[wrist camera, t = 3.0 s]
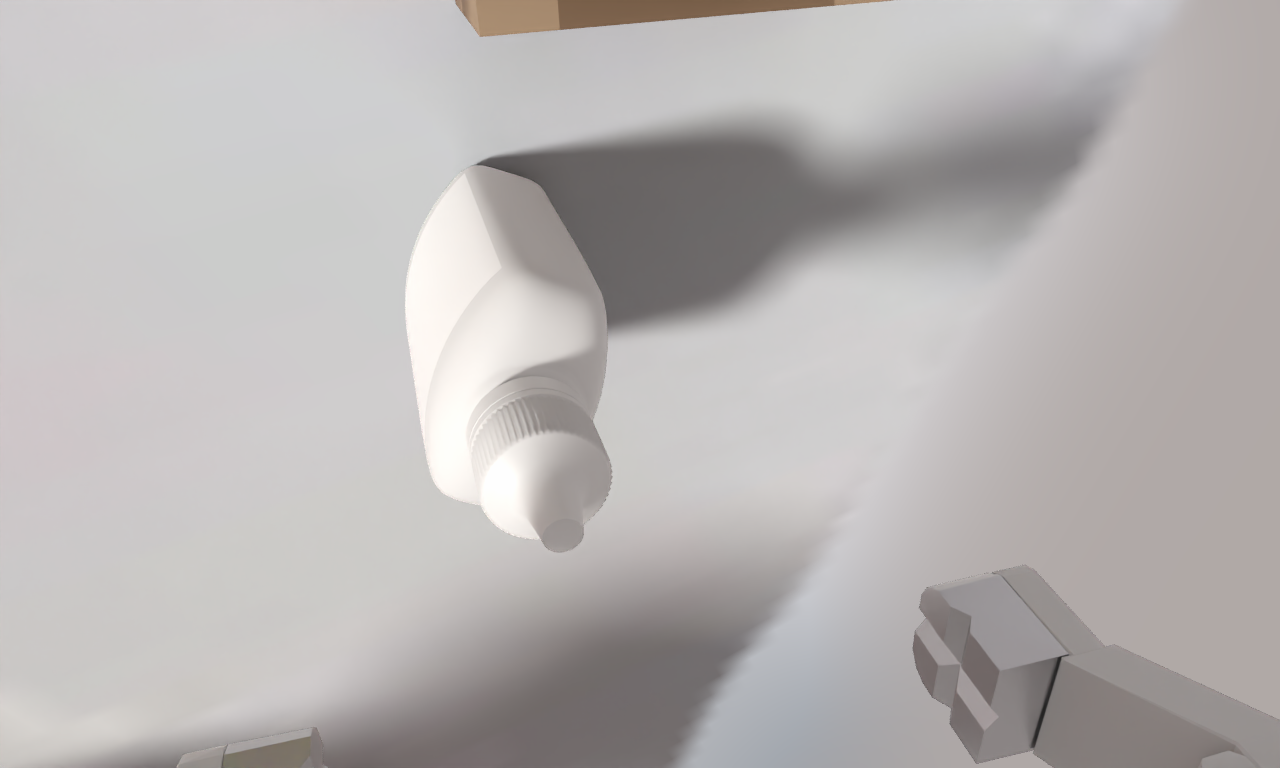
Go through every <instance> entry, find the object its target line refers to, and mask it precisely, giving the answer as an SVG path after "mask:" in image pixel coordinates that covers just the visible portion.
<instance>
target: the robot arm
mask: <svg viewBox="0 0 1280 768" xmlns="http://www.w3.org/2000/svg"><path fill="white" fill-rule="evenodd" d="M919 608H920V610H921V611H922V612H923V614H924V616H925V617H926V619H925V620H924V621H923V622H922V623H921V625H920V626H919V627H918V628H917V629H916V630H915V635H914V643H913V652H914V658H915V663H916V668H917V670H918V673H919V675H920V677H921V679H922V682H923V684H924V685H925V687H926V688H927V690H928V692H929V693H930V695H931V696H932V698H934V699H936V700H938V701H939V702H941V703H943V704H945V705H947V706H948V707H950V708H951V715H950V725H951V727H952V728H953V730H954V731H955V733H956V734H957V735H958V737H959V738H960V740H961V741H962V743H963V744H964V746H965V747H966V749H967V750H968V752H969V753H970V755H971V756H972V758H973V759H974V761H975V762H976V763H977V764H978V763H981V762H986V761H990V760H994V759H999V758H1003V757H1007V756H1011V755H1015V754H1019V753H1023V752H1028V751H1032V750H1034V752H1033V754H1035V755H1036V756H1037V757H1039V758H1040V759H1042V760H1043V761H1045V762H1046V763H1048V764H1049V765H1051V766H1052V767H1054V768H1280V720H1278V719H1276V718H1274V717H1272V716H1269V715H1267V714H1265V713H1263V712H1261V711H1259V710H1256V709H1254V708H1252V707H1250V706H1248V705H1245V704H1243V703H1241V702H1239V701H1237V700H1234V699H1232V698H1230V697H1228V696H1226V695H1224V694H1222V693H1219V692H1217V691H1215V690H1213V689H1210V688H1208V687H1206V686H1204V685H1202V684H1199V683H1197V682H1195V681H1193V680H1191V679H1188V678H1186V677H1184V676H1182V675H1180V674H1178V673H1176V672H1173V671H1171V670H1169V669H1167V668H1165V667H1163V666H1160V665H1158V664H1156V663H1154V662H1151V661H1149V660H1147V659H1145V658H1143V657H1141V656H1139V655H1136V654H1134V653H1132V652H1130V651H1128V650H1125V649H1123V648H1121V647H1119V646H1117V645H1110V646H1106V647H1105V646H1104V645H1103V644H1102V643H1101V641H1099V639H1098V638H1097V637H1096V636H1095V635H1094V634H1093V633H1092V632H1091V631H1090V630H1089V628H1088V627H1087V626H1086V625H1085V624H1084V623H1083V622H1082V621H1081V620H1080V619H1079V618H1078V616H1077V615H1076V614H1075V613H1074V612H1073V611H1072V610H1071V609H1070V608H1069V607H1068V606H1067V604H1066V603H1064V601H1063V600H1062V599H1061V598H1060V597H1059V596H1058V595H1057V594H1056V593H1055V591H1054V590H1053V589H1052V588H1051V587H1050V586H1049V585H1048V584H1047V583H1046V582H1045V581H1044V579H1043V578H1042V577H1041V576H1040V575H1039V574H1038V573H1037V572H1036V571H1035V570H1034V569H1033V568H1031V567H1029V566H1027V565H1022V566H1018V567H1013V568H1009V569H1004V570H1000V571H995V572H992V573H984V574H980V575H976V576H972V577H968V578H964V579H960V580H955V581H952V582H947V583H943V584H939V585H935V586H931V587H927V589H926V590H925V591H924V592H923V593H922V596H921V601H920V606H919ZM176 768H329V767H327V766H325V765H323V743H322V740H321V737H320V734H319V732H318V729H317V728H316V727H312V728H307V729H302V730H297V731H292V732H287V733H282V734H277V735H272V736H267V737H262V738H257V739H252V740H247V741H242V742H237V743H232V744H228V745H224V746H219V747H214V748H210V749H205V750H200V751H195V752H191V753H186V754H183V756H182V758H181V759H180V761H179V763H178V765H177V767H176Z"/></svg>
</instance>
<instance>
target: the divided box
mask: <svg viewBox="0 0 1280 768" xmlns="http://www.w3.org/2000/svg"><path fill="white" fill-rule="evenodd" d="M880 1H891V0H455V2H456V5H457V6H458V7H459V9H460V10H461V11H462V13H463V14H464V16H465V17H466V18H467V20H468V21H469V22H470V24H471V25H472V26H473V28H474V29H475V30H476V32H477V33H478V35H479V36H480V37H483V36H495V35H506V34H517V33H529V32H540V31H551V30H563V29H574V28H585V27H597V26H608V25H619V24H631V23H642V22H653V21H665V20H676V19H687V18H699V17H710V16H721V15H733V14H744V13H755V12H767V11H778V10H789V9H801V8H812V7H823V6H835V5H846V4H857V3H869V2H880Z"/></svg>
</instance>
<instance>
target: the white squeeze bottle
mask: <svg viewBox="0 0 1280 768" xmlns="http://www.w3.org/2000/svg"><path fill="white" fill-rule="evenodd" d="M405 316H406V327H407V334H408V341H409V348H410V355H411V362H412V369H413V376H414V382H415V389H416V396H417V402H418V409H419V415H420V422H421V428H422V435H423V440H424V446H425V451H426V457H427V462H428V466H429V470H430V473H431V476H432V479H433V481H434V483H435V484H436V486H437V487H438V488H439V490H440V491H441V492H442V493H443V494H445V495H447V496H449V497H451V498H453V499H455V500H458V501H462V502H466V503H471V504H477V505H481V506H482V510H483V511H484V512H485V515H486V516H487V517H488V518H489V520H490V521H492V522H493V524H494V525H496V526H497V528H499V529H502V531H503V532H507V533H508V534H510V535H514V536H516V537H520V538H526V539H533V540H534V539H541V541H542V542H543V544H544V545H545V546H546V548H548V549H549V550H551V551H553V552H566V551H569V550H571V549H573V548H575V547H576V546H577V545H578V544H579V543H580V542H581V540H582V538H583V535H584V527H583V524H585V523H586V522H587V521H589V520H590V519H591V518H592V517H593V516H594V515H595V514H596V513H597V512H598V511H599V509H600V508H601V507H602V506H603V503H604V502H605V501H606V497H607V496H608V495H609V494H608V492H609V490H610V489H611V488H610V485H611V484H612V482H611V479H612V475H611V474H612V470H611V464H610V459H609V457H608V455H607V453H606V450H605V448H604V446H603V443H602V441H601V439H600V437H599V434H598V432H597V430H596V428H595V425H594V423H593V418H594V415H595V413H596V410H597V407H598V404H599V400H600V397H601V392H602V388H603V383H604V378H605V371H606V362H607V349H608V333H607V316H606V309H605V303H604V299H603V296H602V293H601V291H600V289H599V287H598V285H597V283H596V281H595V279H594V277H593V275H592V273H591V271H590V269H589V267H588V265H587V263H586V262H585V260H584V258H583V257H582V255H581V253H580V251H579V250H578V248H577V246H576V244H575V243H574V241H573V239H572V238H571V236H570V234H569V232H568V231H567V229H566V227H565V226H564V224H563V222H562V220H561V219H560V217H559V215H558V214H557V212H556V210H555V209H554V207H553V205H552V204H551V202H550V200H549V199H548V197H547V195H546V194H545V192H544V190H543V189H542V187H541V186H539V185H538V184H537V183H535V182H534V181H532V180H529V179H527V178H524V177H521V176H518V175H515V174H511V173H508V172H505V171H502V170H499V169H495V168H491V167H488V166H479V165H472V166H470V167H468V168H466V169H464V170H463V171H461V172H460V173H459V174H458V175H457V176H456V177H455V178H454V179H453V180H452V181H451V183H450V184H449V185H448V186H447V187H446V189H445V190H444V191H443V193H442V194H441V195H440V197H439V198H438V199H437V201H436V203H435V204H434V206H433V207H432V209H431V210H430V212H429V214H428V216H427V217H426V219H425V221H424V223H423V225H422V227H421V230H420V232H419V234H418V237H417V239H416V242H415V245H414V248H413V251H412V255H411V259H410V263H409V268H408V273H407V280H406V291H405Z"/></svg>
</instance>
